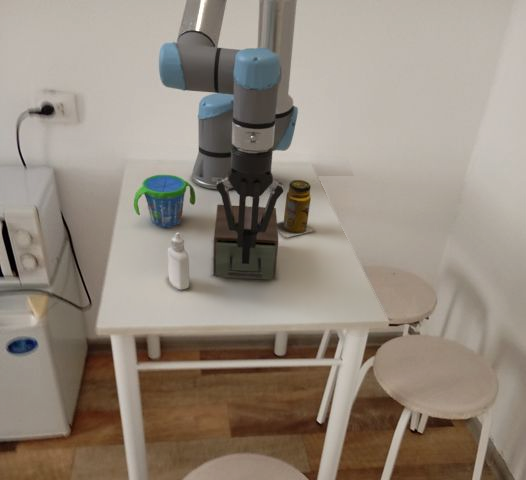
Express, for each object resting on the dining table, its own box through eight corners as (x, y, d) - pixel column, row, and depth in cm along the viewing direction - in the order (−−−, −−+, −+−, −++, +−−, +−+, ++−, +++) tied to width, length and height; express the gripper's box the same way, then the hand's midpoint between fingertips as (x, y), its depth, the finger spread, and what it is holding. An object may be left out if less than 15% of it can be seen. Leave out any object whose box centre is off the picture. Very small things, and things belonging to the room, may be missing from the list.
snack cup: (141, 235, 134) (138, 196, 128) (130, 216, 141) (126, 177, 135) (202, 226, 140) (202, 188, 133) (188, 208, 147) (188, 171, 141)
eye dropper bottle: (168, 290, 117) (166, 239, 109) (168, 276, 121) (166, 226, 114) (189, 290, 118) (188, 240, 110) (189, 276, 122) (188, 226, 114)
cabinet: (274, 279, 124) (278, 240, 118) (213, 275, 123) (214, 236, 117) (272, 244, 136) (275, 207, 129) (216, 241, 135) (217, 204, 129)
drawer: (273, 297, 117) (276, 264, 112) (214, 294, 116) (214, 261, 111) (270, 246, 133) (273, 216, 128) (218, 243, 132) (219, 213, 127)
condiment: (313, 231, 142) (319, 186, 135) (286, 238, 138) (291, 192, 131) (296, 219, 147) (301, 175, 139) (270, 226, 143) (274, 181, 135)
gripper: (215, 151, 97) (213, 268, 112) (289, 156, 98) (277, 271, 113) (217, 137, 103) (214, 249, 118) (287, 141, 104) (276, 253, 119)
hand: (245, 260), depth 115 cm, fingers closed
